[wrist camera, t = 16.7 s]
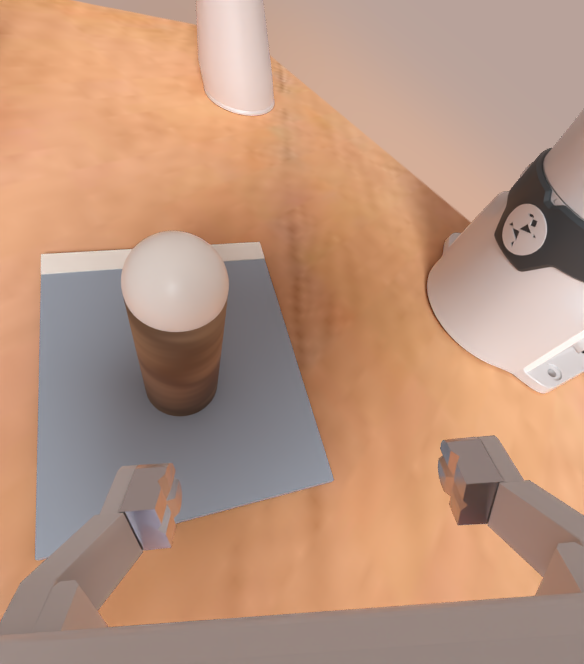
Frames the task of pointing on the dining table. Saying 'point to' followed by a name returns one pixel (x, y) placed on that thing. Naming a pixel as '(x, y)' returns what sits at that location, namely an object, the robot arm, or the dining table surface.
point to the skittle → (176, 318)
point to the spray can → (235, 55)
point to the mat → (147, 421)
